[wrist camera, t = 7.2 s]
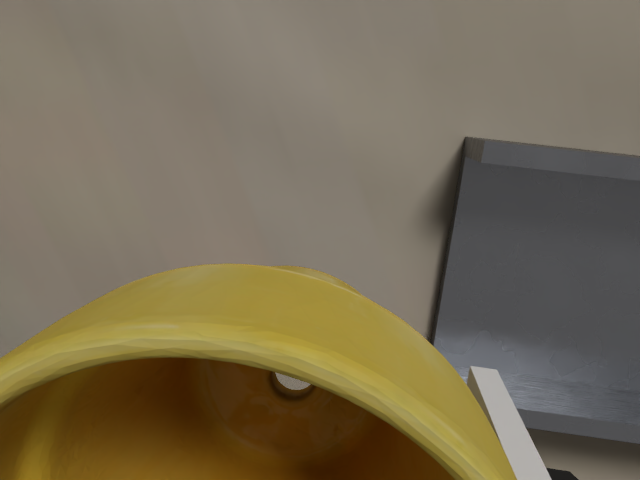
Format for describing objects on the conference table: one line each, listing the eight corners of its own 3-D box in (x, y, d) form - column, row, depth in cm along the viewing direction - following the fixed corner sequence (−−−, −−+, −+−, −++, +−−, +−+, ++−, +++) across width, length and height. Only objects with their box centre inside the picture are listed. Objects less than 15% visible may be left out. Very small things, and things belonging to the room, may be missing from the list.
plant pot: (500, 244, 16) (701, 445, 6) (413, 533, 18) (460, 994, 9) (159, 168, 16) (-147, 244, 7) (120, 460, 19) (-144, 823, 9)
